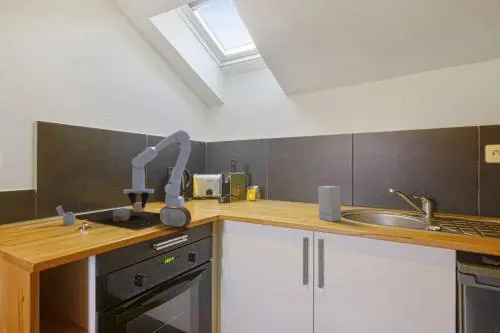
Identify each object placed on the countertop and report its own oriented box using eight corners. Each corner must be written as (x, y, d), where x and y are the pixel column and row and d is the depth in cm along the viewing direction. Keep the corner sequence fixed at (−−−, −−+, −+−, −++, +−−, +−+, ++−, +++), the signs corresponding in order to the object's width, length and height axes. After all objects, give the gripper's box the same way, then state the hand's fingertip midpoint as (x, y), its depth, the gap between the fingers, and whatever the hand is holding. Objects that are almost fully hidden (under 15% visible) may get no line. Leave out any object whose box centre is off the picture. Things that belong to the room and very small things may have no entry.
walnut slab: (129, 219, 129) (129, 214, 129) (125, 221, 124) (125, 216, 124) (117, 219, 129) (117, 214, 129) (113, 221, 123) (113, 216, 123)
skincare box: (341, 220, 124) (341, 186, 124) (330, 222, 121) (330, 187, 120) (327, 217, 131) (327, 185, 131) (317, 219, 128) (317, 186, 128)
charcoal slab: (130, 214, 128) (130, 209, 128) (122, 216, 123) (122, 210, 123) (120, 214, 129) (120, 208, 129) (113, 215, 124) (113, 210, 124)
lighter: (75, 223, 118) (75, 205, 118) (73, 224, 116) (73, 206, 116) (57, 224, 117) (57, 205, 117) (55, 225, 115) (55, 206, 115)
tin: (191, 227, 111) (191, 206, 111) (186, 229, 108) (186, 208, 108) (163, 224, 118) (163, 204, 118) (158, 225, 115) (158, 205, 115)
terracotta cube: (144, 210, 138) (144, 202, 138) (141, 211, 134) (141, 203, 134) (136, 210, 138) (136, 202, 138) (133, 211, 134) (133, 203, 134)
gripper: (155, 180, 140) (156, 206, 140) (128, 180, 140) (128, 206, 140) (150, 180, 132) (150, 208, 133) (121, 181, 133) (121, 208, 133)
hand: (138, 207), depth 136 cm, fingers closed on terracotta cube, 4 cm apart
